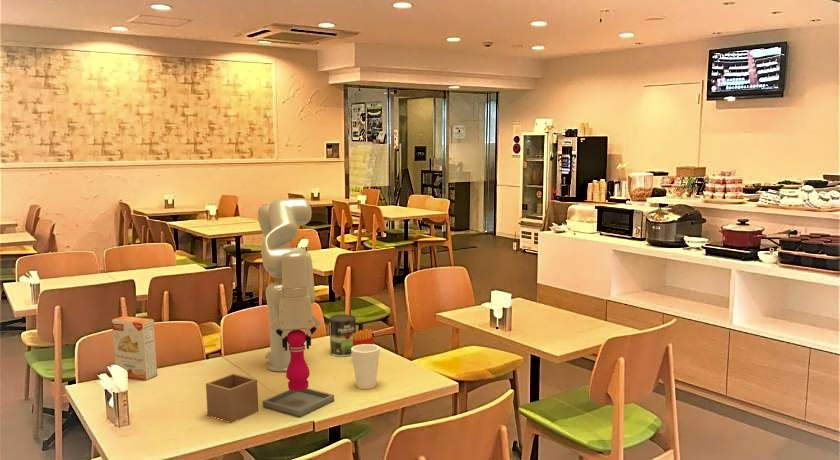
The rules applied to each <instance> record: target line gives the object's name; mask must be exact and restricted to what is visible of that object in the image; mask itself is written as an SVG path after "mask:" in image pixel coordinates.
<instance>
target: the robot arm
mask: <svg viewBox="0 0 840 460" xmlns="http://www.w3.org/2000/svg"><path fill="white" fill-rule="evenodd" d="M311 219H312V207H311V203H310V202H309V201H308V199H306V198H302V197H301V198H279V199H275V200H273V201H272V202H271V203H266V204H263V205H262V204H261V206H259V207H258V210H257V220H258V224H259V227H260V230H261V232H262V234H263V240H262V243H261V246H260V247H261V248H260V252H261V259H262V265H263V268H264V270H265V271H266V272H268V274H269V276H270V277H272V278H274V279H281V281H275V282H272V283H270V284H269V285H267V286H266V288H265V299H266V305H267V310H268V321H269V343H270V345H269V347H270V348H269V349H270V351H268V352H267V353H266V354H265V355H264V358H265V359H268V362H267V363H266V369H267V370H269V371H272V372H278V373H279V372H281V373H282V372H283V373H284V372H286V371H287V368H288V365H289V363H290V359H291V353H290V351H289V345H290V344H289V343H288V342H287V335H288V333H289V332H290V331H292V330H298V329H299V330H305V333H306V341H305V347H306V350H309V349H310V346H311V347H312V335H313V334H314V333H315V332H316V331H317V330H318V329H319V328H320V327H321V325H322V321H320V320H319V319H318V318H317V317H316V316H315V315H314V314H313V304H314V302H315V297H316V295H315V294H316V293H315V281H314V269H313V267H314V266H313V260H312V256H311V254H310V253H309V251H307V250H306V249H305V248H302V247H291V241H293V240H294V239H295V238H296V237H297V236H298V233H299V226H305V225H306V224H308V223H309V222H310V221H311Z"/></svg>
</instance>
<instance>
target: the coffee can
mask: <svg viewBox="0 0 840 460" xmlns="http://www.w3.org/2000/svg"><path fill="white" fill-rule="evenodd" d="M356 319H357V318H356V315H351V314H337V315H332V316H330V317H329V318H328V320H329V351H330V352H329V354H330V356H332V357H337V358H338V357H339V358H340V357H341V358H342V357H343V358H345V357H346V358H347V357H352V356H351V348H352V347H354V346H353V336H352V334H353V333H356V332H357V327H356V324H357V323H356Z"/></svg>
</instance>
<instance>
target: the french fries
mask: <svg viewBox="0 0 840 460" xmlns="http://www.w3.org/2000/svg"><path fill="white" fill-rule="evenodd" d="M352 336H353V346H356V345H362V344H372V345H374V336H373V329H369V328H366V329H363V330H362V329H360V330H359V331H357V330H356V333H353V334H352Z"/></svg>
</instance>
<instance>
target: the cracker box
mask: <svg viewBox="0 0 840 460" xmlns="http://www.w3.org/2000/svg"><path fill="white" fill-rule="evenodd" d="M111 324H112V340H113V350H114V351H113V353H114V366H115V365H118V366H120V367H122V368H124V369H126V370H127V372H128V377H129V379H136V380H141V381H148V380H151V379H152V378H154V377H157V376H158V366H157V351H156V350H157V349H156V335H155V320H154V319H152V318H146V317H145V318H143V317H137V316H136V317H135V316H126V315H122V316H120V317H116V318H113V319H111ZM128 377H127V378H128Z"/></svg>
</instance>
